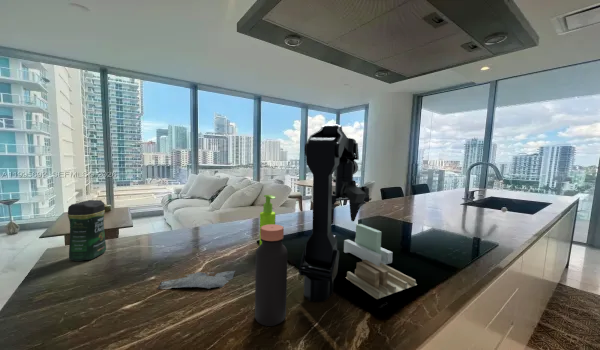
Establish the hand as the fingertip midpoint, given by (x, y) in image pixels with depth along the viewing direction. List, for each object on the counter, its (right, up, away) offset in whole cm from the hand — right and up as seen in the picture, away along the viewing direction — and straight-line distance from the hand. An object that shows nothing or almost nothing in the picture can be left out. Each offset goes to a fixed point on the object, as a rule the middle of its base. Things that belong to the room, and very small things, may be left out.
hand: (342, 222), depth 84 cm
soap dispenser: (-27, -12, +11) cm, 31 cm away
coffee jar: (-85, -11, -2) cm, 86 cm away
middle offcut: (+6, -14, -16) cm, 22 cm away
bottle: (-21, -15, -30) cm, 39 cm away
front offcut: (+4, -14, -17) cm, 22 cm away
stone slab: (-43, -14, -15) cm, 47 cm away
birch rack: (+8, -14, -15) cm, 22 cm away
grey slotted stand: (+9, -13, +3) cm, 16 cm away
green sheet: (+9, -12, +2) cm, 15 cm away
